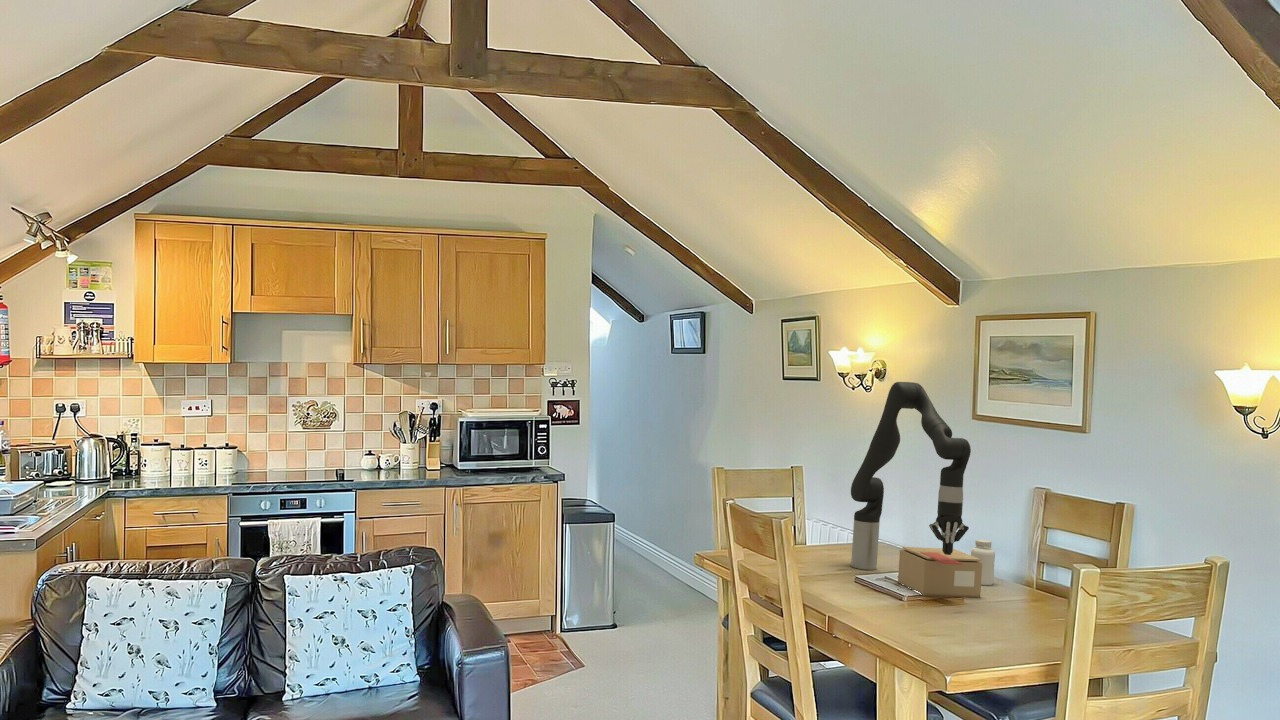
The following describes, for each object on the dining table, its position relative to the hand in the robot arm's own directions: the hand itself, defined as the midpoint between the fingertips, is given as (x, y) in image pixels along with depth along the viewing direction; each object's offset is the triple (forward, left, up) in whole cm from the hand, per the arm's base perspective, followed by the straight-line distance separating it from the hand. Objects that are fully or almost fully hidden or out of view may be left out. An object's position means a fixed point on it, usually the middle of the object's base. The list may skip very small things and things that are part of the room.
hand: (947, 554), depth 310 cm
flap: (-5, +5, -2) cm, 7 cm away
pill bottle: (-28, +28, -15) cm, 42 cm away
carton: (-14, +5, -14) cm, 21 cm away
